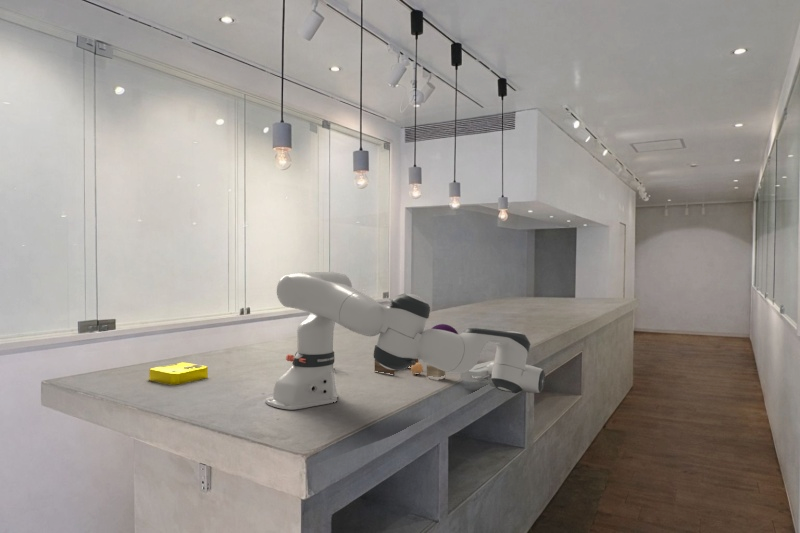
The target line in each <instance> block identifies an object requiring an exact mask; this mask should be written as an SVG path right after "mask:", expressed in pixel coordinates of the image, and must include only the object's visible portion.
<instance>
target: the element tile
mask: <svg viewBox="0 0 800 533" xmlns="http://www.w3.org/2000/svg"><path fill="white" fill-rule="evenodd" d="M148 373H149V375H148V376H149V377H148V380H149V381H150V382H155V381H156V383H159V382H160V384H164V383H165V384H164V385H169V384H170V385H171V386H177V384H178V385H183V384H187V383H192V382H197V381H200V379H201V380H204V378H205V379H208V378H209V367H208V366H206V365H201V364H196V363H190V362H184V361H183V362H179V363H178V362H177V363H173V364H172V363H171V364H168V365H167V364H165V365H161V366H156V367H151V368H149V372H148Z"/></svg>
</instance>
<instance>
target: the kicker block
mask: <svg viewBox="0 0 800 533" xmlns="http://www.w3.org/2000/svg"><path fill="white" fill-rule="evenodd" d="M444 375H445V376H446V371H443V370H440V369H437V368H435V367H433V366H431V365H429V364H427V363H426V377H427V376H433V377H441V376H444Z"/></svg>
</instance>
